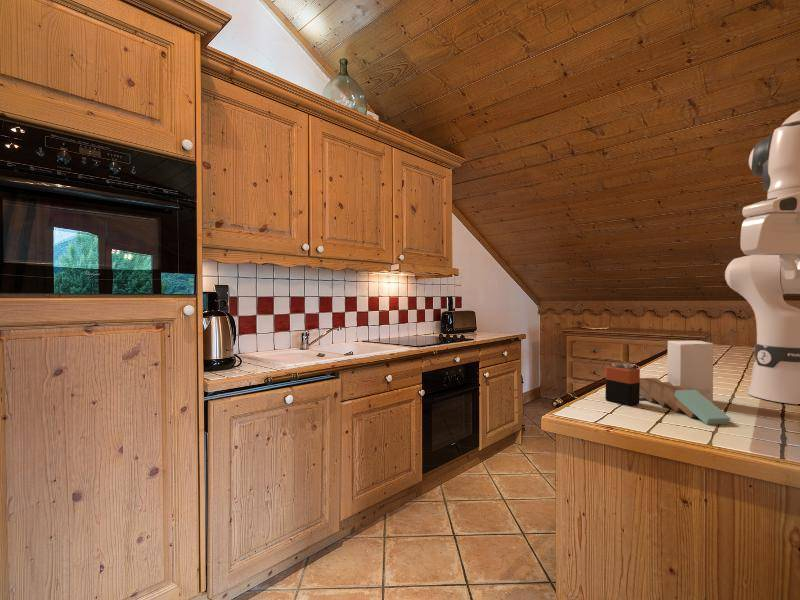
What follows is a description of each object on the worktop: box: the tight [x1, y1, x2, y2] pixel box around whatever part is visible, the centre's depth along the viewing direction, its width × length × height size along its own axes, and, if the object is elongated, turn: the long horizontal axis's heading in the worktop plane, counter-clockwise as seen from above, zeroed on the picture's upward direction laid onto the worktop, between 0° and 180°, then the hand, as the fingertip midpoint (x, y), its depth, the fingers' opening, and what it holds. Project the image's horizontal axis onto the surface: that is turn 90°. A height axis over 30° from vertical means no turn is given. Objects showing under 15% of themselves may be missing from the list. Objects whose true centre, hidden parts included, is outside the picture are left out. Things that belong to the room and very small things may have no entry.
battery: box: [604, 362, 641, 407], centre depth 104 cm, size 4×7×10 cm, turn 32°
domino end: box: [674, 390, 731, 425], centre depth 91 cm, size 5×2×10 cm
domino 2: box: [640, 377, 671, 408], centre depth 104 cm, size 5×2×10 cm
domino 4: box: [661, 386, 699, 419], centre depth 95 cm, size 5×2×10 cm
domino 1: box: [640, 386, 657, 403], centre depth 108 cm, size 5×2×10 cm
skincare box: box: [666, 340, 715, 404], centre depth 105 cm, size 8×7×16 cm
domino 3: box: [649, 381, 685, 414], centre depth 99 cm, size 5×2×10 cm
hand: (796, 279), depth 77 cm, fingers closed
